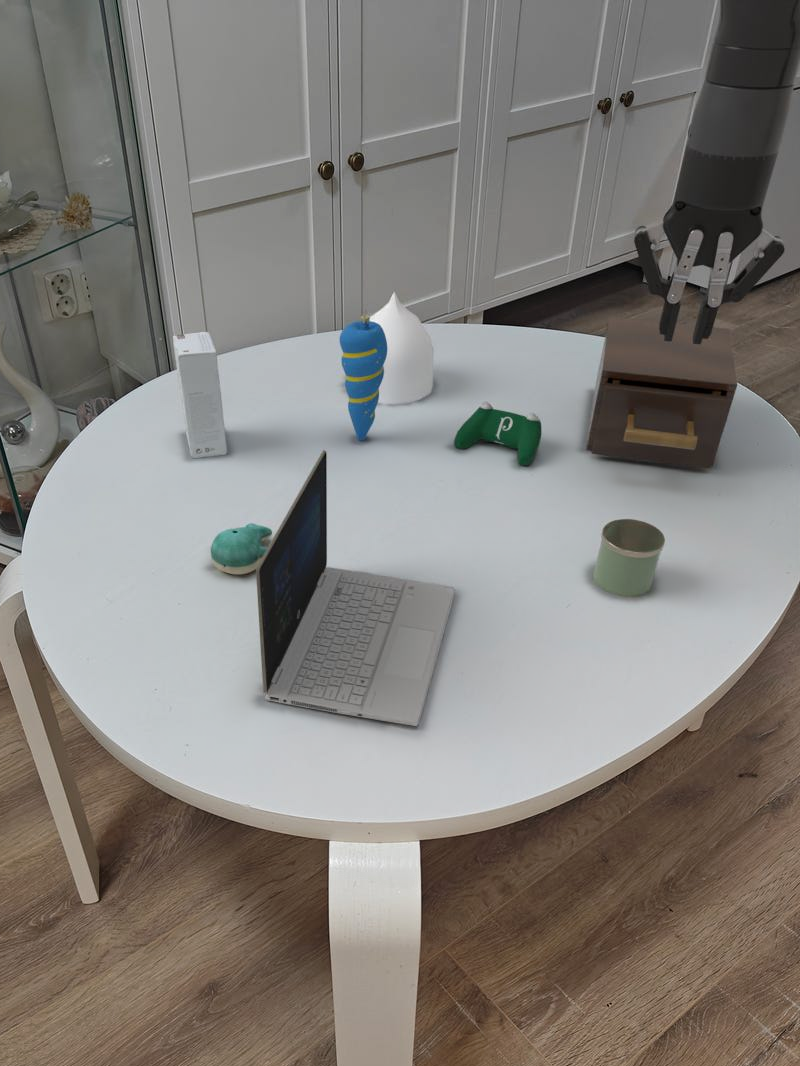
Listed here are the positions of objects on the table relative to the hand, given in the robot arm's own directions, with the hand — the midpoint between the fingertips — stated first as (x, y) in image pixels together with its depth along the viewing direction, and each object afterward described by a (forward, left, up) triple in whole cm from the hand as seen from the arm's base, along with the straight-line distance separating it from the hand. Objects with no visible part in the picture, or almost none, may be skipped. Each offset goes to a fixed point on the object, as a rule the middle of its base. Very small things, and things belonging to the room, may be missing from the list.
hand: (682, 339), depth 89 cm
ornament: (+32, +1, -15) cm, 35 cm away
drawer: (0, -6, -14) cm, 15 cm away
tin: (+2, +21, -15) cm, 26 cm away
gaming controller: (+16, -2, -15) cm, 22 cm away
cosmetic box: (+49, +7, -15) cm, 52 cm away
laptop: (+23, +36, -15) cm, 45 cm away
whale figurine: (+37, +27, -15) cm, 48 cm away
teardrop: (+32, -14, -15) cm, 38 cm away
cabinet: (0, -11, -15) cm, 19 cm away
